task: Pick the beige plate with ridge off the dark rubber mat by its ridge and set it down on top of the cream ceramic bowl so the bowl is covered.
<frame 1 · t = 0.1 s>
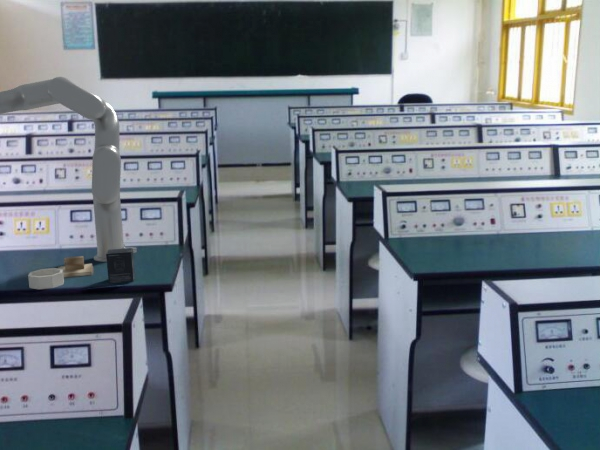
box: (122, 282, 201), on the workbench
mat: (75, 273, 211), on the workbench
beige plate with ridge: (75, 272, 211), point 1 cm above the workbench, touching mat
bowl: (47, 286, 197), on the workbench
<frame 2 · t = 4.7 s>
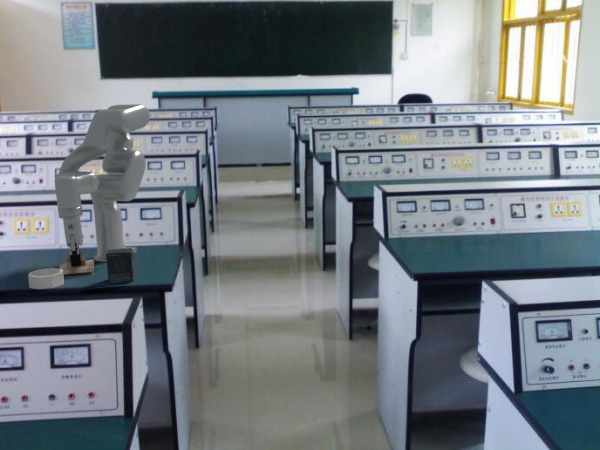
hand: (76, 264, 211), 3 cm above the workbench, tool pointing down, fingers closed on beige plate with ridge
beige plate with ridge: (76, 268, 212), point 2 cm above the workbench, touching gripper
everything else where it was.
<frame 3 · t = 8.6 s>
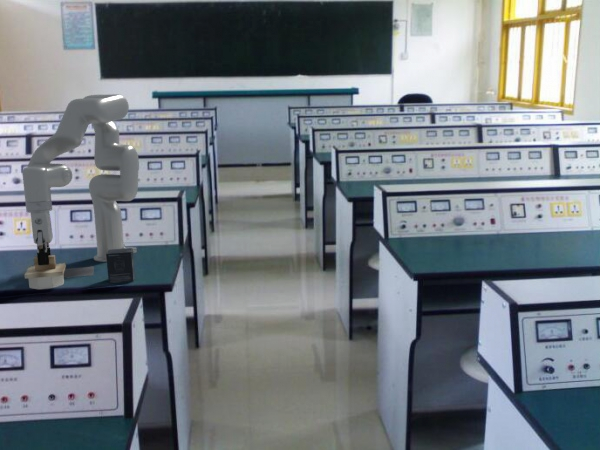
hand: (44, 261, 196), 8 cm above the workbench, tool pointing down, fingers open, 5 cm apart
beige plate with ridge: (45, 272, 197), point 4 cm above the workbench, touching bowl
everything else where it was.
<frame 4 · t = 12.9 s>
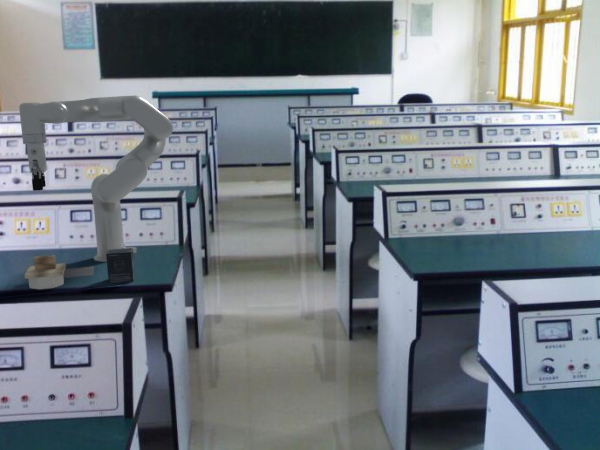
hand: (39, 188, 215), 28 cm above the workbench, tool pointing down, fingers open, 9 cm apart
nothing on the workbench moved.
at the end: beige plate with ridge 0.1 cm off-centre on the bowl, point 4.5 cm above the bowl's base; beige plate with ridge tilted 0°; the gripper is holding nothing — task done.
